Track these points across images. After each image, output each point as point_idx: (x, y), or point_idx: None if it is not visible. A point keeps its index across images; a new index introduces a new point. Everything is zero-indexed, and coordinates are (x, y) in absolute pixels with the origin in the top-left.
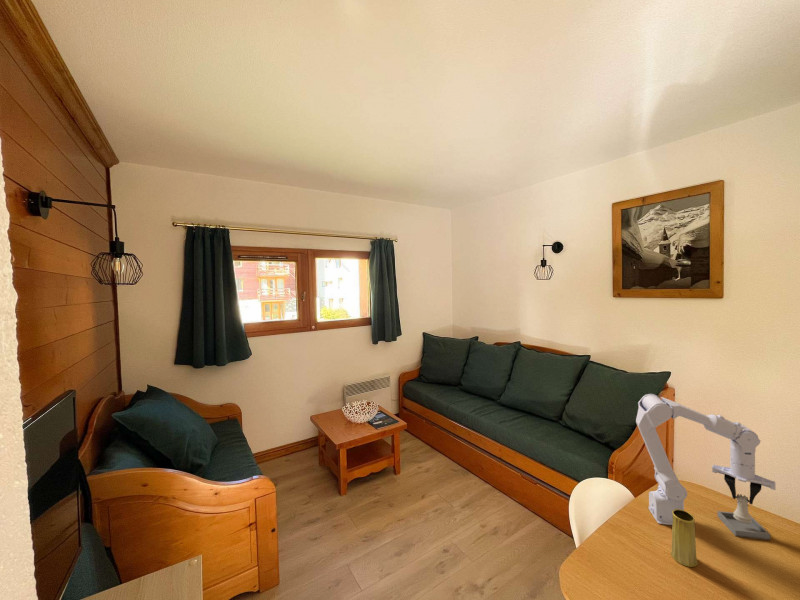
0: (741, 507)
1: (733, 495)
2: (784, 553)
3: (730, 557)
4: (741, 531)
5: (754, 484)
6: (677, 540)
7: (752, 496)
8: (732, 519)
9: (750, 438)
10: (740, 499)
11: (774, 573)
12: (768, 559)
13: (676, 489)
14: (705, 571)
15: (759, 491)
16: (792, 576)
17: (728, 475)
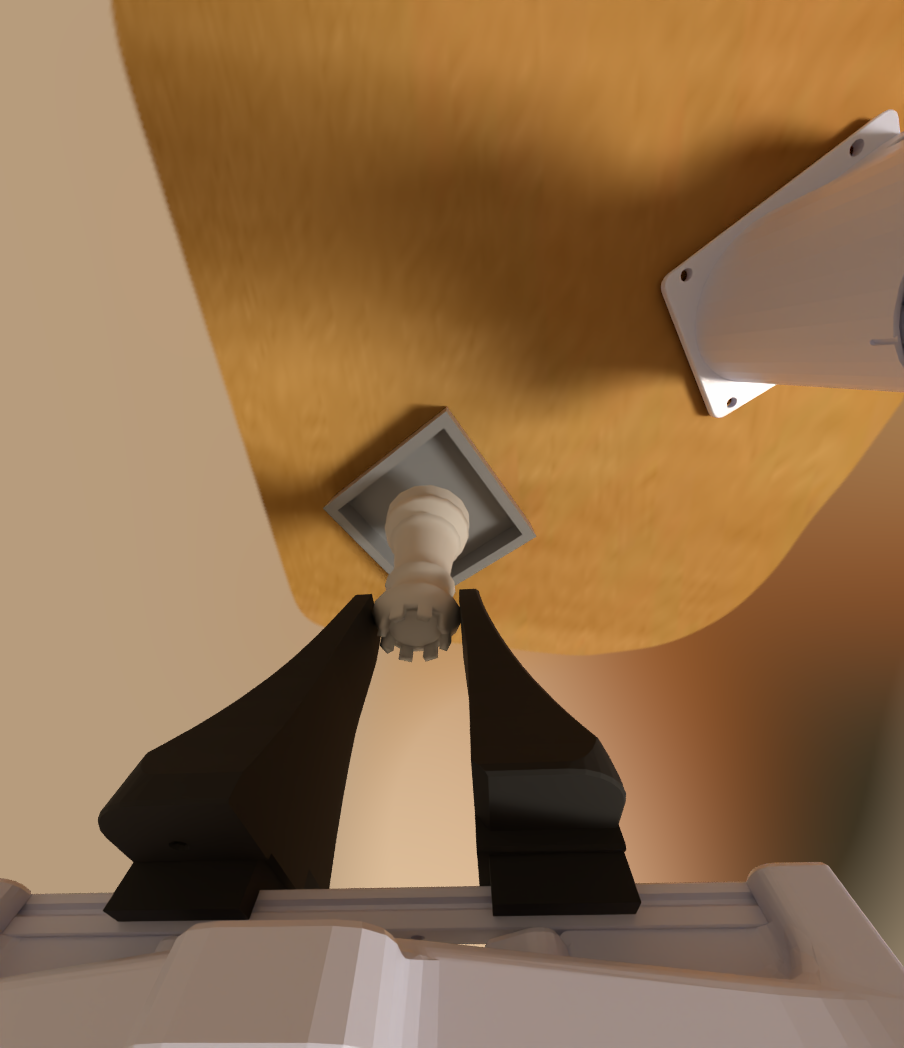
0: (422, 551)
1: (473, 605)
2: (269, 432)
3: (436, 104)
4: (422, 430)
5: (212, 866)
6: None
7: (313, 652)
8: (474, 537)
9: None
10: (422, 593)
11: (233, 162)
12: (295, 306)
13: None
14: None
15: (157, 748)
16: (178, 227)
17: (575, 904)
